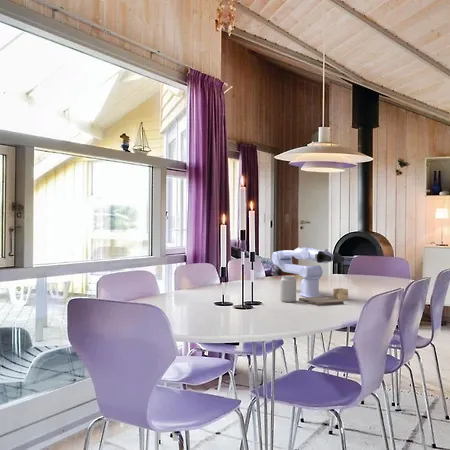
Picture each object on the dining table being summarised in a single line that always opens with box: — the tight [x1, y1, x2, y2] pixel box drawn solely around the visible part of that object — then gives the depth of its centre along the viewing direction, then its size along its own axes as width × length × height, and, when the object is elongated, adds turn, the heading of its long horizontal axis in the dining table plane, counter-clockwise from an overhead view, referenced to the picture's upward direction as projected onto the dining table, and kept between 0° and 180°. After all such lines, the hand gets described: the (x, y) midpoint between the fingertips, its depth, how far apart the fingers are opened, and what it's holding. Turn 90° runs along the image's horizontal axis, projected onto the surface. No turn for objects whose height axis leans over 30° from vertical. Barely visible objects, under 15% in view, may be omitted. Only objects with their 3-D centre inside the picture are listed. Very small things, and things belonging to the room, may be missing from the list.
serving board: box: [298, 296, 345, 307], centre depth 234 cm, size 16×14×1 cm
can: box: [279, 275, 297, 303], centre depth 236 cm, size 8×8×12 cm
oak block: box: [332, 287, 349, 301], centre depth 244 cm, size 5×5×5 cm
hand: (336, 259), depth 234 cm, fingers open, 7 cm apart
